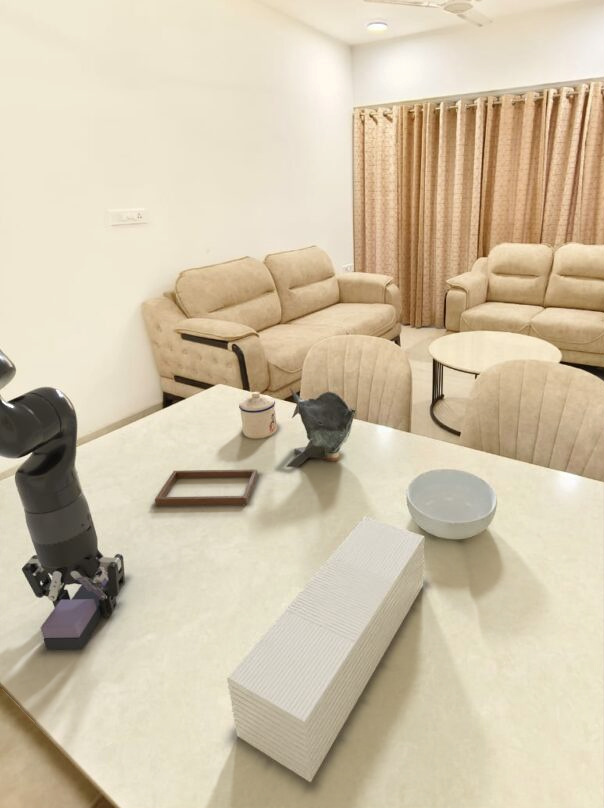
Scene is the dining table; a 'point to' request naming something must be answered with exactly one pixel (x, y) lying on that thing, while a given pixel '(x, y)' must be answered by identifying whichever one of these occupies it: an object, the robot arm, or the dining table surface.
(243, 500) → the empty rectangular frame
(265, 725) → the stack of papers
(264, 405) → the teacup with lid
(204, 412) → the dining table surface
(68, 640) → the navy and purple block
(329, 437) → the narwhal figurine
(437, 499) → the cereal bowl
